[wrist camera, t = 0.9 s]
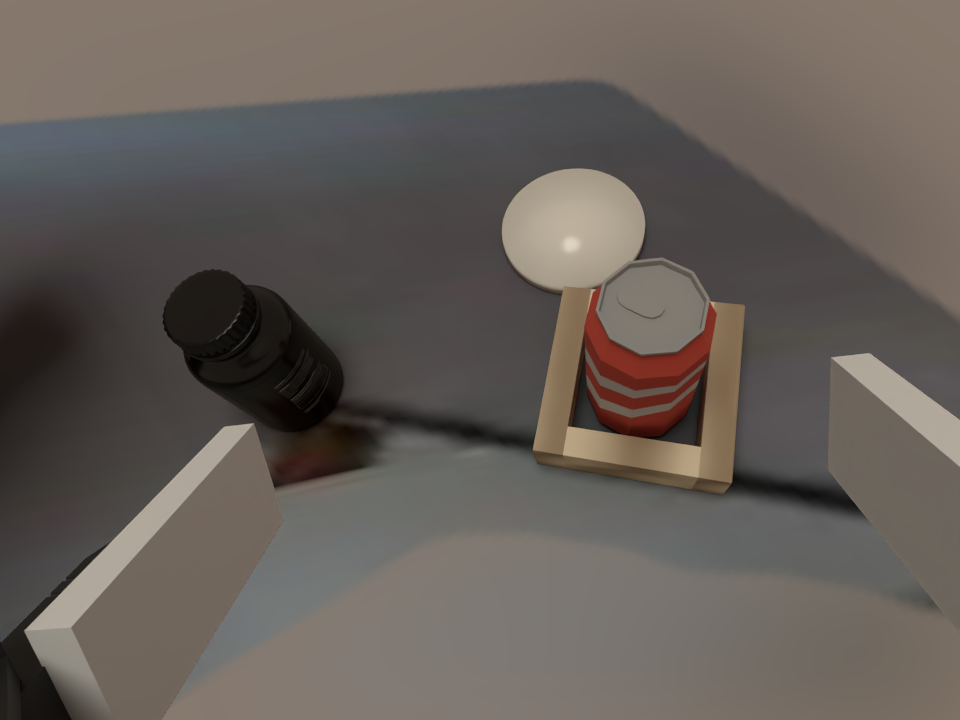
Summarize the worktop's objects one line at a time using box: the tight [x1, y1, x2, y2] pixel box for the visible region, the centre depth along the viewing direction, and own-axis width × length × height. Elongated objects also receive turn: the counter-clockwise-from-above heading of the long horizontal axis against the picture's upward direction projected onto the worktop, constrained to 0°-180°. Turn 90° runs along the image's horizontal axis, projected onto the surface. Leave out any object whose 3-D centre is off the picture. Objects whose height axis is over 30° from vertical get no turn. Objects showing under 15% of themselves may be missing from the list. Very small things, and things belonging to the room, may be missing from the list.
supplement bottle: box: [163, 269, 342, 431], centre depth 40 cm, size 7×7×12 cm
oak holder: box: [533, 286, 745, 495], centre depth 40 cm, size 11×11×3 cm
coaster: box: [502, 169, 645, 294], centre depth 47 cm, size 10×10×1 cm
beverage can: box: [584, 258, 717, 437], centre depth 36 cm, size 6×6×12 cm
